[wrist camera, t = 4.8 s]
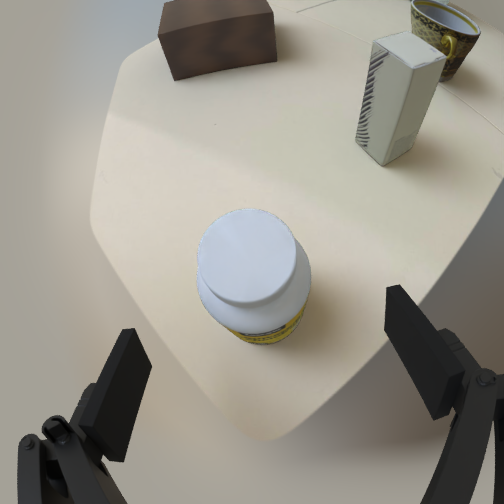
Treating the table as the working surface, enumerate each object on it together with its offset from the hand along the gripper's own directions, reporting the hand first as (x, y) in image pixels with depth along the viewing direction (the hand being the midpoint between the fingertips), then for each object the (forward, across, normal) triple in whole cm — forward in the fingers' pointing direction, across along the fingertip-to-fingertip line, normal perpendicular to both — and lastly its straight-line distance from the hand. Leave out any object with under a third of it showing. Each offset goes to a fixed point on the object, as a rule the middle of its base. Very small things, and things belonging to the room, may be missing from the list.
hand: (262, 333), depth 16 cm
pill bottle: (+9, 0, -4) cm, 10 cm away
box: (+19, +15, +6) cm, 25 cm away
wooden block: (+35, 0, +22) cm, 41 cm away
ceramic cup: (+28, +29, +15) cm, 43 cm away
